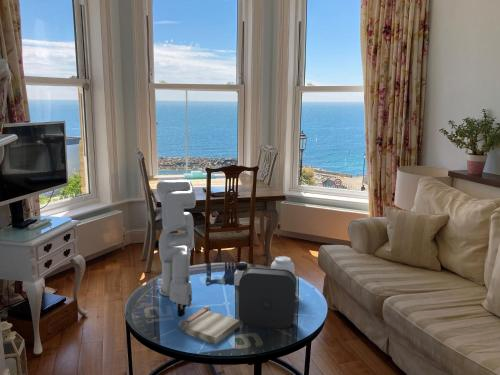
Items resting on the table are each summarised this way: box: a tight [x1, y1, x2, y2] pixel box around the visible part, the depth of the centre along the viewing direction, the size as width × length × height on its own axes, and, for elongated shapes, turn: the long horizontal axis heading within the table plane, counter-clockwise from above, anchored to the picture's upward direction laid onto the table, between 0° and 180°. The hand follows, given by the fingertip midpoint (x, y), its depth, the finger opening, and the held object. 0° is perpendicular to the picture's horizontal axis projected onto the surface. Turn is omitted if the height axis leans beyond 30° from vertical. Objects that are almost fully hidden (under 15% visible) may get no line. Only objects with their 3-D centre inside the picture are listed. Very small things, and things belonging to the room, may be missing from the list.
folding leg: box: [184, 305, 211, 324], centre depth 201 cm, size 16×3×4 cm, turn 151°
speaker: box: [238, 266, 297, 329], centre depth 197 cm, size 25×9×25 cm, turn 82°
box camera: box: [233, 261, 248, 287], centre depth 243 cm, size 7×7×12 cm
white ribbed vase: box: [270, 255, 296, 275], centre depth 230 cm, size 12×12×20 cm
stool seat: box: [178, 310, 240, 345], centre depth 193 cm, size 21×18×4 cm
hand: (181, 315), depth 202 cm, fingers closed
